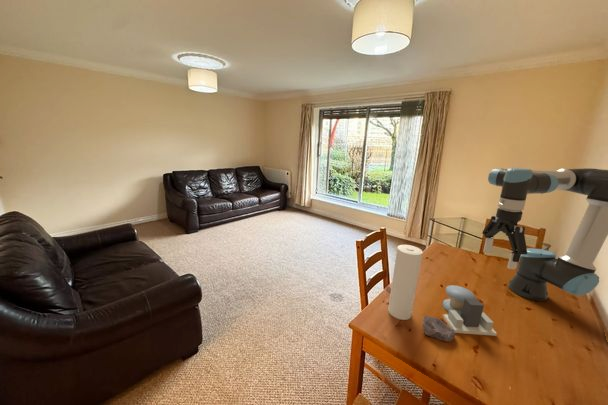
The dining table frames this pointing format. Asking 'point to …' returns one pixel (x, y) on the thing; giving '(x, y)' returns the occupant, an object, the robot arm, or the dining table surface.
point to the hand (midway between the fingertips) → (498, 259)
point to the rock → (437, 329)
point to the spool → (456, 298)
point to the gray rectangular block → (472, 312)
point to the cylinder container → (404, 281)
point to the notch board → (457, 325)
